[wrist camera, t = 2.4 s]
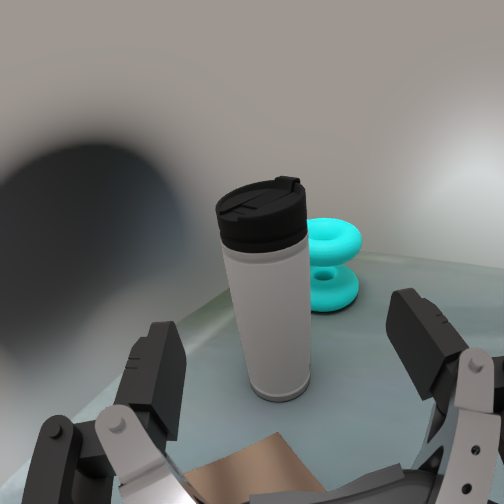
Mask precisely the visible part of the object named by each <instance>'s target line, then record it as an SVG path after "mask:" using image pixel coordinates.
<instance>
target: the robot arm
mask: <svg viewBox="0 0 504 504" xmlns="http://www.w3.org/2000/svg"><path fill="white" fill-rule="evenodd" d="M442 314H443V313H442V312H441V311H440V310H439V309H438V307H437V306H436V305H435V304H433V303H432V302H430V301H429V300H427V299H425V298H421V297H420V296H419V294H418V293H417V292H416V291H415V290H414V289H413V288H407V289H402V290H397V291H394V292H393V293H392V296H391V300H390V306H389V311H388V315H387V320H386V332H387V336H388V338H389V340H390V342H391V343H392V345H393V347H394V349H395V350H396V352H397V354H398V356H399V358H400V359H401V361H402V363H403V365H404V367H405V368H406V370H407V372H408V374H409V376H410V378H411V380H412V382H413V383H414V385H415V387H416V389H417V391H418V393H419V395H420V397H421V399H422V401H423V400H426V399H429V398H431V397H433V398H434V400H435V403H434V404H433V407H432V412H431V416H430V420H429V424H428V427H427V431H426V434H425V438H424V441H423V445H422V447H421V450H420V452H419V454H418V455H417V457H416V459H415V461H414V463H413V465H412V467H411V469H403V470H402V468H401V465H400V463H398V464H395V465H393V466H390V467H387V468H384V469H381V470H378V471H375V472H371V473H368V474H365V475H364V476H362V477H360V478H358V479H356V480H354V481H352V482H350V483H348V484H346V485H344V486H342V487H340V488H338V489H336V490H334V491H331V492H300V491H282V492H274V493H264V494H251V495H249V500H250V501H248V502H244V503H241V504H498V503H495V502H493V501H491V500H488V497H489V493H490V489H491V485H492V481H493V476H494V471H495V465H496V460H497V453H498V451H499V454H500V456H501V459H502V461H503V464H504V356H500V357H491V356H490V355H489V354H488V353H487V352H485V351H484V350H482V349H479V348H469V347H468V345H467V344H466V343H465V341H464V340H463V339H462V337H461V336H460V335H459V333H458V332H457V331H456V330H455V328H454V327H453V326H452V325H451V323H450V322H448V320H447V318H446V317H445V316H444V315H442ZM128 359H129V360H128V361H127V364H126V367H125V368H126V369H125V370H124V372H123V376H122V379H121V382H120V385H119V388H118V391H117V394H116V398H115V401H114V404H113V405H112V406H109V407H107V408H105V409H104V410H103V411H101V413H100V414H99V415H98V417H97V419H96V420H93V421H88V422H82V423H76V424H73V423H72V422H71V421H70V420H69V419H68V418H67V417H65V416H63V415H55V416H52V417H50V418H49V419H47V420H46V421H45V422H44V423H43V425H42V427H41V430H40V433H39V436H38V439H37V443H36V446H35V449H34V453H33V456H32V460H31V463H30V467H29V471H28V475H27V479H26V484H25V488H24V493H23V498H22V503H21V504H111V496H112V486H113V478H114V476H116V475H117V476H118V478H119V480H120V483H121V485H120V486H119V492H120V494H121V496H122V498H123V500H124V502H125V503H126V504H209V503H208V502H207V501H206V500H205V499H204V498H203V497H202V496H201V495H200V494H199V493H198V492H197V490H196V489H195V488H194V487H193V486H192V485H191V483H190V482H189V481H188V480H187V478H186V477H185V476H184V475H183V473H182V472H181V471H180V470H179V468H178V467H177V466H176V464H175V463H174V462H173V460H172V459H171V458H170V456H169V455H168V453H167V452H166V451H165V449H166V441H177V436H178V427H179V418H180V410H181V402H182V394H183V387H184V380H185V372H186V354H185V350H184V348H183V345H182V342H181V339H180V337H179V334H178V331H177V328H176V326H175V323H174V322H173V321H166V322H153V323H152V324H151V326H150V330H149V333H148V336H147V337H140V338H139V340H138V341H137V342H136V343H135V344H134V346H133V347H132V349H131V352H130V355H129V358H128Z"/></svg>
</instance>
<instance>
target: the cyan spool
mask: <svg viewBox="0 0 504 504" xmlns="http://www.w3.org/2000/svg"><path fill="white" fill-rule="evenodd" d="M307 227H308V232H309V238H308V239H309V255H310V294H311V310H313V311H319V312H328V311H334V310H338V309H341V308H343V307H345V306H347V305H348V304H350V303H351V302H352V301H353V300H354V299H355V297H356V295H357V293H358V290H359V282H358V279H357V277H356V275H355V273H354V272H353V271H352V270H351V269H350V268H348V267H347V266H345V265H343V263H345V262H347V261H349V260H351V259H352V258H354V257H355V256H356V255H357V254H358V252H359V251H360V249H361V246H362V237H361V234H360V232H359V231H358V230H357V228H356V227H355V226H353V225H352V224H350V223H348V222H345V221H343V220H338V219H332V218H317V219H310V220H307Z"/></svg>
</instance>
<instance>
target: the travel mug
mask: <svg viewBox="0 0 504 504" xmlns="http://www.w3.org/2000/svg"><path fill="white" fill-rule="evenodd" d="M216 214H217V220H218V226H219V229H220V236H221V245H222V248H223V256H224V261H225V266H226V271H227V276H228V281H229V286H230V291H231V296H232V301H233V305H234V310H235V315H236V320H237V324H238V329H239V334H240V338H241V343H242V347H243V352H244V356H245V361H246V365H247V370H248V374H249V378H250V383H251V386H252V388H253V390H254V392H255V393H256V394H257V395H258V396H260V397H262V398H263V399H266V400H269V401H274V402H282V401H288V400H291V399H294V398H295V397H297V396H299V395H300V394H302V393H303V392H304V391H305V389H306V388H307V386H308V384H309V381H310V355H311V294H310V255H309V239H308V238H309V232H308V227H307V220H306V219H307V209H306V193H305V188H304V187H303V186H302V185H301V184H300V179H299V178H294V177H287V176H280V177H276V178H275V180H269V181H262V182H257V183H253V184H249V185H246V186H243V187H240V188H238V189H235V190H233V191H232V192H230V193H228V194H226V195H225V196H224V197H222V198H221V199H220V200H219V201H218V203H217V205H216Z"/></svg>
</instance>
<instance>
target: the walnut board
mask: <svg viewBox="0 0 504 504" xmlns="http://www.w3.org/2000/svg"><path fill="white" fill-rule="evenodd" d="M183 475H184V476H185V477H186V478H187V480H188V481H189V482H190V483H191V485H192V486H193V487H194V488H195V489H196V490H197V492H198V493H199V494H200V495H201V496H202V497H203V498H204V499H205V500H206V501H207V502H208V503H209V504H241V503H244V502H248V501H250V500H249V495H251V494H264V493H274V492H282V491H300V492H327V491H326V490H325V489H324V488H323V486H322V485H321V484H320V483H319V482H318V481H317V480H316V478H315V477H314V476H313V475H312V474H311V472H310V471H309V470H308V469H307V468H306V466H305V465H304V464H303V463H302V462H301V460H300V459H299V458H298V457H297V455H296V454H295V453H294V452H293V450H292V449H291V448H290V447H289V445H288V444H287V443H286V442H285V440H284V439H283V438H282V436H281V435H280V434H279V432H276V433H275V434H273V435H271V436H269V437H267V438H265V439H263V440H261V441H259V442H257V443H255V444H253V445H251V446H249V447H247V448H245V449H242V450H240V451H238V452H236V453H234V454H231V455H229V456H227V457H225V458H222V459H220V460H217V461H215V462H213V463H210V464H208V465H205V466H203V467H200V468H197V469H195V470H192V471H189V472H186V473H183Z"/></svg>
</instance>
